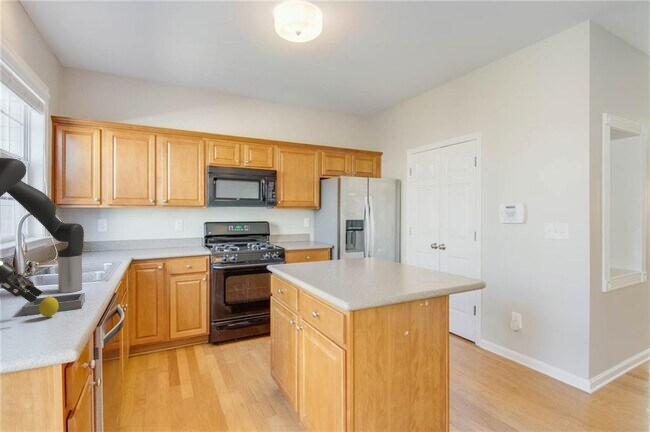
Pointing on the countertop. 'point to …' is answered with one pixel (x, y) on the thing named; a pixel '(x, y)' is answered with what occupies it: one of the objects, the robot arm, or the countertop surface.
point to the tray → (63, 301)
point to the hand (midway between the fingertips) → (37, 297)
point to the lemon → (48, 306)
